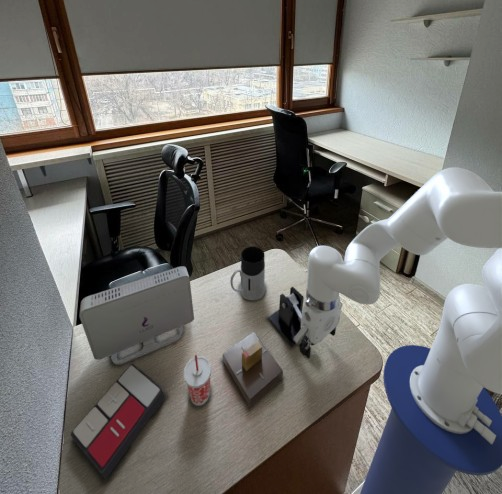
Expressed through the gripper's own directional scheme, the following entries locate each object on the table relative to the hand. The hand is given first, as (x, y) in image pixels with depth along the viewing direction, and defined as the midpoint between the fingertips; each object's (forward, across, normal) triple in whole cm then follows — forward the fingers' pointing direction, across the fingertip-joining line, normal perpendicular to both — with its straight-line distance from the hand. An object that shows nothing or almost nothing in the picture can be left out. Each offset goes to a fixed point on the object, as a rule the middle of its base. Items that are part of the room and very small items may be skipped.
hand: (317, 342), depth 71 cm
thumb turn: (+1, -16, +7) cm, 18 cm away
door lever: (-2, 0, +7) cm, 7 cm away
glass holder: (+4, -5, +26) cm, 27 cm away
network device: (+3, -36, +30) cm, 47 cm away
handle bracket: (+4, 0, +10) cm, 11 cm away
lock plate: (+4, -16, +7) cm, 18 cm away
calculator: (+3, -46, +16) cm, 48 cm away
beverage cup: (+4, -30, +10) cm, 31 cm away
